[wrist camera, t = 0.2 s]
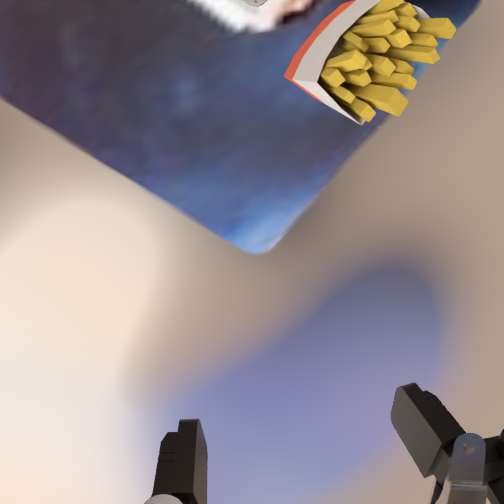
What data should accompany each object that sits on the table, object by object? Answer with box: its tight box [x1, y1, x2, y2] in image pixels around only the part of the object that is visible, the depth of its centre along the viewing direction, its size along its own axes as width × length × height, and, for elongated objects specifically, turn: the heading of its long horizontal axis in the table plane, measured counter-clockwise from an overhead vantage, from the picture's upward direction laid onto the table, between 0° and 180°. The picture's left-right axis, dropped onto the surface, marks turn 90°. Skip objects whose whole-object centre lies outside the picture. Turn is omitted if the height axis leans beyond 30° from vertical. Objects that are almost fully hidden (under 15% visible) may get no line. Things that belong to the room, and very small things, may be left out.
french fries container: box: [284, 0, 457, 125], centre depth 22 cm, size 5×11×18 cm, turn 146°
